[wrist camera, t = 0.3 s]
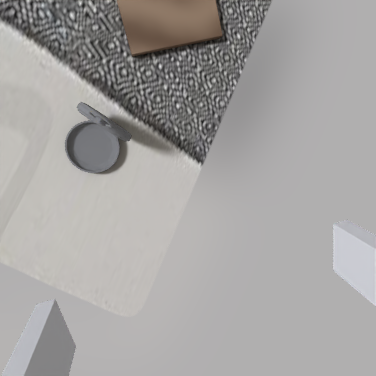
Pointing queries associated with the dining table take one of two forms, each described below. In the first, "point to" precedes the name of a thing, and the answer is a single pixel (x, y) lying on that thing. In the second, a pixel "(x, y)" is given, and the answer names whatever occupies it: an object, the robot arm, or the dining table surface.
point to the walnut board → (168, 23)
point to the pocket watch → (94, 141)
